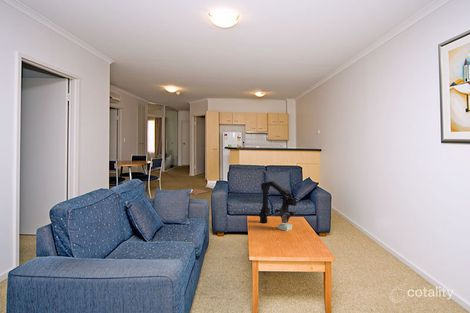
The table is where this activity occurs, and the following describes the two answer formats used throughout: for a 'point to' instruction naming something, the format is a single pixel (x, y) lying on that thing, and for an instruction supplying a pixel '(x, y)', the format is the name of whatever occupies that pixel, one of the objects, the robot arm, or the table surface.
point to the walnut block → (284, 219)
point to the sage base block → (285, 226)
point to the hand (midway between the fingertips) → (285, 221)
